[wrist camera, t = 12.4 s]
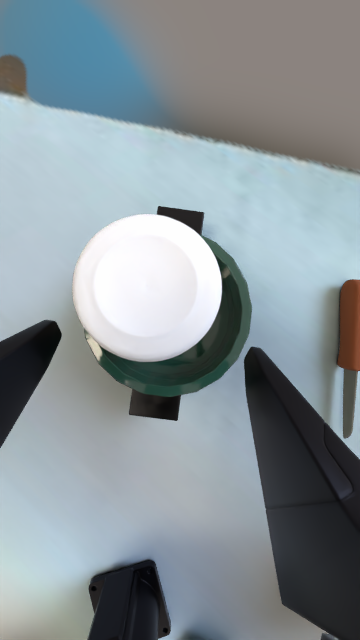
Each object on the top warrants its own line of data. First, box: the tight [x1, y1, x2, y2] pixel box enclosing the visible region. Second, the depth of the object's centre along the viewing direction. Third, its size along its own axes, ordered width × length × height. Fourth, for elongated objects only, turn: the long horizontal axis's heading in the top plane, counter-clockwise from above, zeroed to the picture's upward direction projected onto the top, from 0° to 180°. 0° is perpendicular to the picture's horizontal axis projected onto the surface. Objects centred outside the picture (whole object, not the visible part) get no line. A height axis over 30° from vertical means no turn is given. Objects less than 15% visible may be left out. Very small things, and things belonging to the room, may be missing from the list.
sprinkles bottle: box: [72, 214, 222, 362], centre depth 12 cm, size 5×4×13 cm
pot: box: [84, 234, 252, 397], centre depth 17 cm, size 14×14×4 cm
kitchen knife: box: [337, 279, 360, 438], centre depth 18 cm, size 16×1×2 cm, turn 175°
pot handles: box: [129, 206, 204, 421], centre depth 16 cm, size 18×4×1 cm, turn 173°
